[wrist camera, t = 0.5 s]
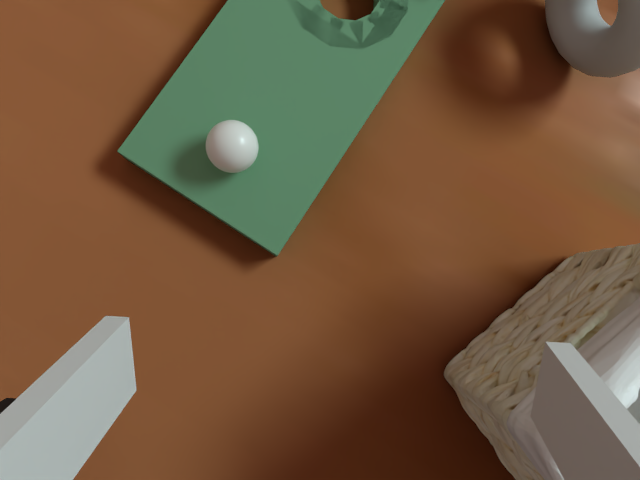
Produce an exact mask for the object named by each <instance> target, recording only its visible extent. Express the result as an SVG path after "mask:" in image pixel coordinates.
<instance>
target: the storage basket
mask: <svg viewBox="0 0 640 480" xmlns="http://www.w3.org/2000/svg"><path fill="white" fill-rule="evenodd" d="M545 342H560V343H571V344H572V345H573V346H574V348H575V349H576V350H577V351H578V352H579V353H580V355H581V356H582V357H583V358H584V359H585V360H586V362H587V363H588V364H589V365H590V366H591V368H592V369H593V370H594V371H595V372H596V373H597V375H598V376H599V377H600V378H601V379H602V380H603V382H604V383H605V384H606V385H607V386H608V388H609V389H610V390H611V391H612V392H613V393H614V395H615V396H616V397H617V398H618V399H619V401H620V402H621V403H622V404H623V405H624V406H625V408H626V409H627V410H628V411H629V412H630V413H631V415H632V416H633V417H634V418H635V419H636V421H637V422H638V423H639V424H640V243H639V244H636V245H627V246H617V247H614V248H606V249H600V250H593V251H589V252H581V253H577V254H575V255H574V256H571V257H569V258H567V259H566V260H564V261H563V262H562V263H561V264H560V265H559V266H558V267H557V268H556V269H555V270H554V271H553V272H551V273H549V274H548V275H546V276H545V277H544V278H543V279H542V280H541V281H540V282H539V283H538V284H537V285H536V286H535V287H534V288H533V289H531V290H530V291H528V292H526V293H525V294H524V295H523V296H522V297H521V298H520V299H519V300H518V301H517V303H516V304H515V305H514V307H513V308H511V309H508V310H506V311H505V312H503V313H502V314H501V315H500V316H498V317H497V318H496V319H495V320H494V321H493V322H492V324H491V325H490V326H489V328H488V329H487V330H486V331H485V332H483V333H481V334H480V335H478V336H477V337H476V338H474V339H473V340H472V341H471V342H470V343H469V345H468V346H467V347H466V349H464V350H462V351H461V352H460V353H458V354H457V355H456V356H455V357H454V358H453V359H452V360H451V361H450V362H449V363H448V365H447V366H446V368H445V370H444V377H445V379H446V380H447V382H448V383H449V384H450V385H451V386H452V387H453V388H454V390H455V392H456V393H457V396H458V398H459V400H460V403H461V405H462V407H463V409H464V410H465V411H466V413H467V414H468V415H469V417H470V418H471V419H472V420H473V421H474V422H475V423H476V425H477V427H478V428H479V430H480V431H481V432H482V433H483V434H484V435H485V436H486V437H487V439H488V440H489V442H490V444H491V445H493V447H494V449H495V452H496V454H497V456H498V458H499V459H500V461H501V463H502V464H503V465H504V466H505V468H506V469H507V470H508V471H509V472H510V473H511V474H512V475H513V477H514V478H515V479H516V480H564V478H563V476H562V474H561V473H560V471H559V469H558V467H557V465H556V463H555V461H554V460H553V458H552V456H551V454H550V452H549V450H548V448H547V447H546V445H545V443H544V441H543V439H542V437H541V435H540V434H539V432H538V430H537V428H536V426H535V424H534V422H533V421H532V419H531V417H530V416H531V411H532V406H533V401H534V396H535V391H536V386H537V381H538V376H539V371H540V366H541V361H542V355H543V350H544V345H545Z"/></svg>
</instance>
